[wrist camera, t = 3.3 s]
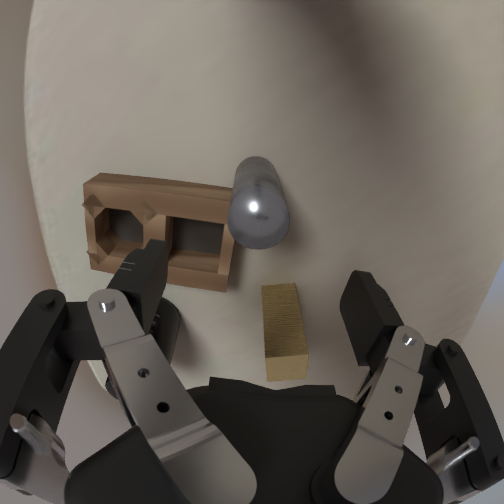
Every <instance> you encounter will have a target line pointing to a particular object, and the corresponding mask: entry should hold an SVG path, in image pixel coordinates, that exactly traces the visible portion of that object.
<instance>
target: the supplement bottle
mask: <svg viewBox="0 0 504 504" xmlns="http://www.w3.org/2000/svg"><path fill="white" fill-rule="evenodd" d="M179 326H180V317H179V314H178V312H177V310H176V308H175V307H174V306H173V305H172V304H171V303H170V302H169V301H167V300H166V299H164V298H162V297H161V300H160V302H159V305H158V308H157V310H156V313H155V316H154V319H153V321H152V324H151V327H150V330H149V333H150V334H151V335H152V336H153V338H154V339H155V341H156V343H157V344H158V346H159V348H160V350H161V351H162V353H163V355H164V356H165V358H166V359H167V361H168V363H169V364H171V360H172V356H173V352H174V347H175V343H176V339H177V335H178V331H179ZM105 387H106V389H107V391H108V392H109V393H110V394H111V395H112V396H113V397H115V398H116V399H118V398H117V396H116V393H115V391H114V389H113V387H112V384H111V382H110V379H109V377H107V380H106V384H105Z"/></svg>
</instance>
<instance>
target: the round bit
mask: <svg viewBox="0 0 504 504" xmlns="http://www.w3.org/2000/svg"><path fill="white" fill-rule="evenodd" d="M289 224H290V217H289V213H288V209H287V206H286V203H285V200H284V197H283V193H282V190H281V187H280V184H279V181H278V178H277V175H276V172H275V169H274V167H273V165H272V164H271V163H270V162H269V161H268V160H266V159H265V158H262V157H250V158H247V159H245V160H243V161H242V162H241V163H240V164H239V166H238V167H237V170H236V174H235V179H234V184H233V190H232V195H231V201H230V206H229V212H228V218H227V225H228V229H229V232H230V234H231V236H232V237H233V238H234V239H235V240H236V241H237V242H238V243H239V244H241V245H242V246H245V247H247V248H251V249H266V248H269V247H272V246H274V245H276V244H277V243H279V242H280V241H281V240H282V239H283V238H284V237H285V235H286V233H287V231H288V229H289Z"/></svg>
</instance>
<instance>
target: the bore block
mask: <svg viewBox="0 0 504 504" xmlns="http://www.w3.org/2000/svg"><path fill="white" fill-rule="evenodd" d="M83 189H84V203H83V204H82V205H83V207H84V208H85V222H86V232H87V242H88V251H87V253H88V254H89V258H90V265H91V269H93V270H98V271H103V272H108V273H113V274H115V273H116V272H117V270H118V269H119V268H120V266H121V264H122V263H123V261H124V260H125V258H126V256H127V255H128V254H129V253H130V252H132V251H134V250H135V249H137V248H139V249H144V248H145V247H146V245H147V243H148V242H149V240H150V239H157V240H164V241H168V244H169V249H168V276H167V282H166V283H169V284H175V285H181V286H187V287H193V288H200V289H206V290H213V291H220V292H226V288H227V282H228V276H229V269H230V263H231V257H232V251H233V245H234V238H233V237H232V236H231V234H230V232H229V229H228V225H227V218H228V212H229V206H230V201H231V195H232V190H233V188H226V187H220V186H213V185H206V184H199V183H191V182H183V181H176V180H167V179H159V178H150V177H140V176H130V175H120V174H109V173H99V174H98V175H96V176H95V177H93V178H92V179H90V180H89V181H87V182H85V183H84V184H83Z"/></svg>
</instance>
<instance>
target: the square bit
mask: <svg viewBox="0 0 504 504" xmlns="http://www.w3.org/2000/svg"><path fill="white" fill-rule="evenodd" d="M262 305H263V324H264V344H265V362H266V373H267V382H271V381H283V380H294V379H304V378H307V368H308V357H309V353H308V348H307V342H306V337H305V332H304V327H303V322H302V317H301V312H300V307H299V302H298V297H297V292H296V287H295V283H291V284H279V285H266V286H262Z"/></svg>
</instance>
